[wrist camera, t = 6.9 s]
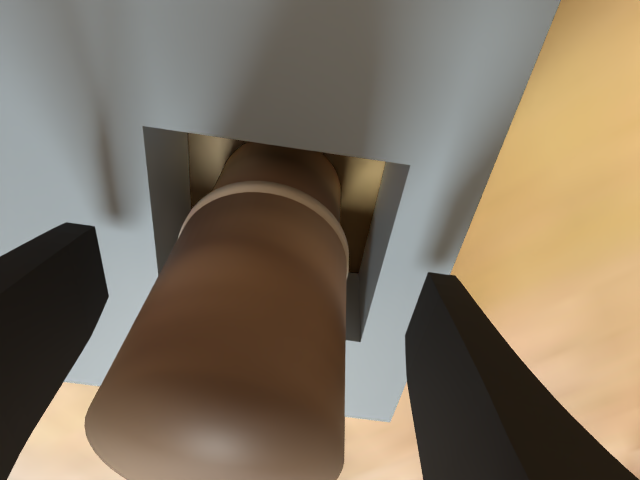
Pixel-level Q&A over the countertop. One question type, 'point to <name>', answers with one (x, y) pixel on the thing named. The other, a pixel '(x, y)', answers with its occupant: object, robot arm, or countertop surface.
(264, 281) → the walnut peg
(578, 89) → the countertop surface
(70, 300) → the robot arm
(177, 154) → the grey board with holes
